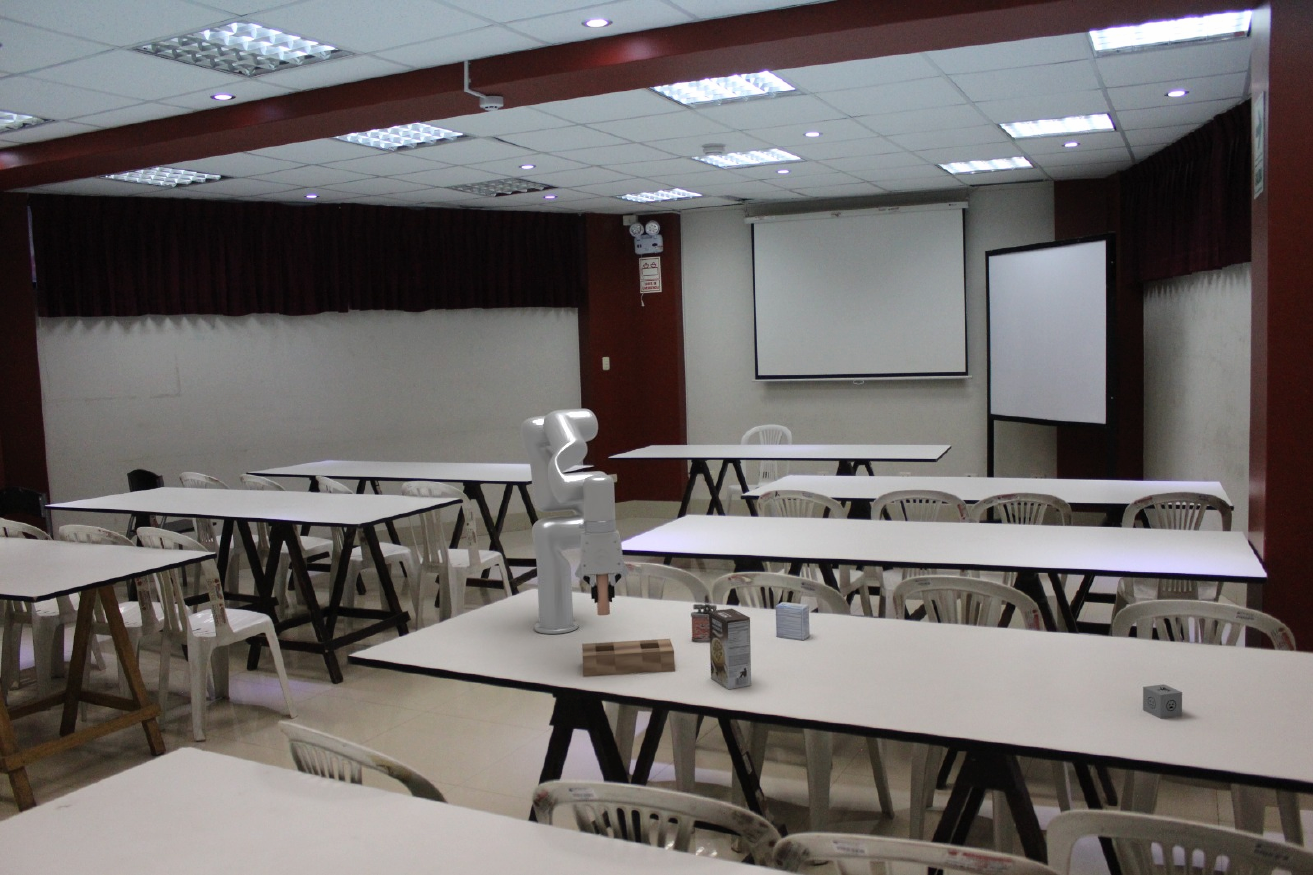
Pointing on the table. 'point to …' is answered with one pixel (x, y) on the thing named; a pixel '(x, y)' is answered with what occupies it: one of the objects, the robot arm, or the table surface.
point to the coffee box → (730, 648)
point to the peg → (603, 594)
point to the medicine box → (792, 621)
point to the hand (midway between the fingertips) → (603, 600)
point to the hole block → (628, 657)
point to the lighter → (701, 623)
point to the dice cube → (1162, 701)
